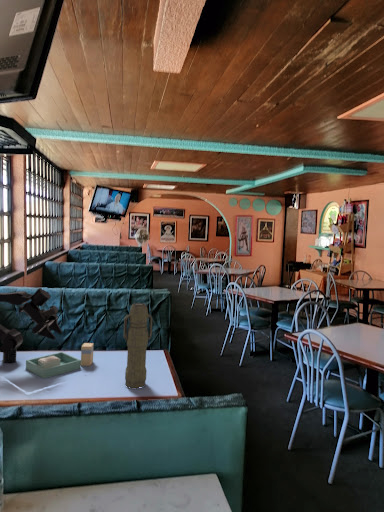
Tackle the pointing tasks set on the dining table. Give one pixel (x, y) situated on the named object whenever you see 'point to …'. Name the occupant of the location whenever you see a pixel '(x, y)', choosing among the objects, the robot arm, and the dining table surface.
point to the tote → (65, 365)
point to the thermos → (137, 344)
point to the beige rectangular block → (48, 362)
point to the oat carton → (87, 354)
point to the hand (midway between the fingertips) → (58, 336)
